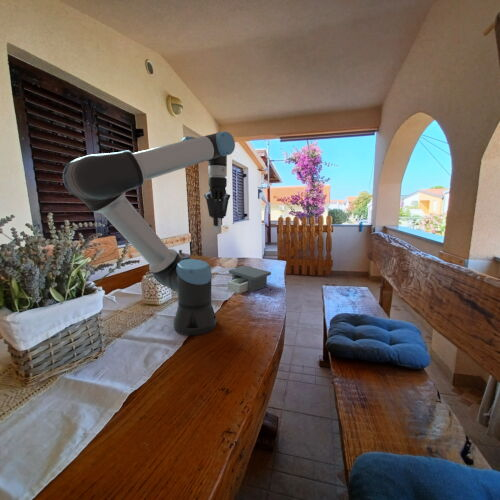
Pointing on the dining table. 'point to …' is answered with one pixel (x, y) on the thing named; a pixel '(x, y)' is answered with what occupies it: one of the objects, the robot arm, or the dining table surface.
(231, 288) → the pale green open box
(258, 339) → the dining table surface
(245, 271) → the grey drawer cabinet
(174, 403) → the dining table surface
